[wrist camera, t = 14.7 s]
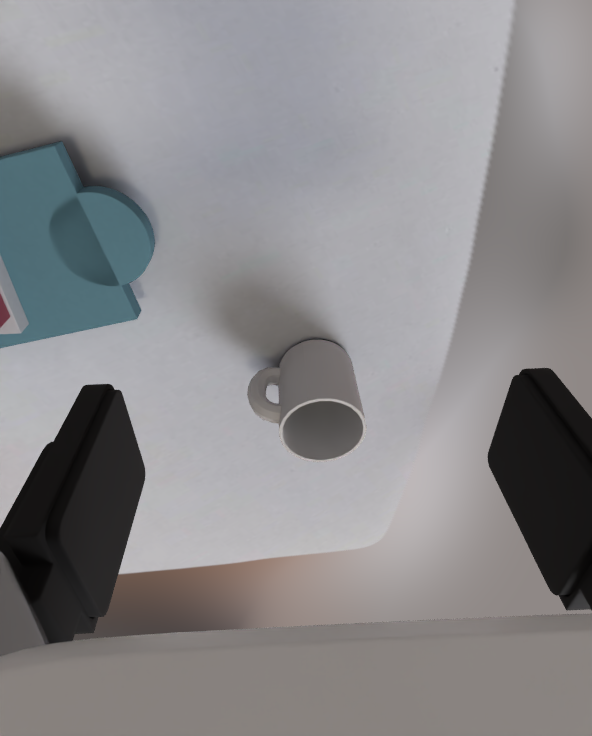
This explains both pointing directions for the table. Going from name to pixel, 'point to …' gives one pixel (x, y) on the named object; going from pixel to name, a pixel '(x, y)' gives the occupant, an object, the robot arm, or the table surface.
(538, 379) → the robot arm
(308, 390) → the cup
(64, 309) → the board
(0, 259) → the maroon block on base
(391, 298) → the table surface
